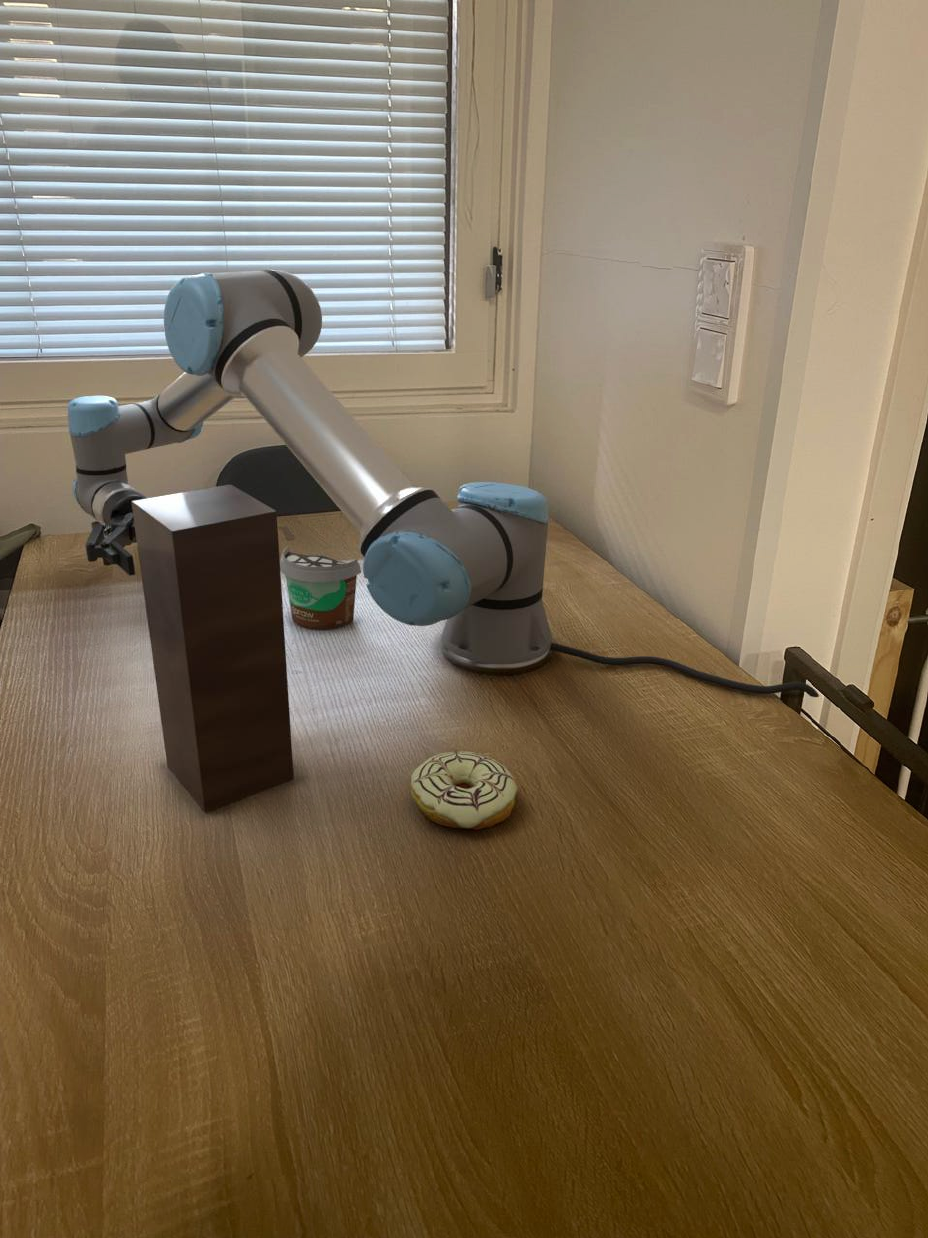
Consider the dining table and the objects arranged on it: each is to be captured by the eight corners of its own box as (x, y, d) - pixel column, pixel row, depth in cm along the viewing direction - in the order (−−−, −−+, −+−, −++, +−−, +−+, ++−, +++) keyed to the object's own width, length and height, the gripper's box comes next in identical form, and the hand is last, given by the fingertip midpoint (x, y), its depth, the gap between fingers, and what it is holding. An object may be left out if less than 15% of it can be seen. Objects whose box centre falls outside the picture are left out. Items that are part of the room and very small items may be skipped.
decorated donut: (477, 852, 87) (478, 820, 85) (390, 810, 93) (390, 779, 91) (533, 799, 95) (535, 769, 93) (450, 763, 100) (451, 734, 99)
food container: (266, 624, 131) (261, 559, 126) (289, 607, 136) (285, 545, 131) (341, 640, 127) (339, 574, 122) (362, 623, 132) (360, 559, 127)
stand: (167, 766, 98) (131, 500, 86) (252, 737, 104) (230, 484, 91) (204, 813, 91) (171, 531, 78) (294, 779, 97) (276, 510, 84)
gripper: (205, 521, 149) (265, 561, 134) (45, 552, 134) (91, 601, 120) (201, 476, 145) (261, 513, 130) (36, 503, 131) (83, 547, 116)
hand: (180, 555), depth 125 cm, fingers open, 13 cm apart
